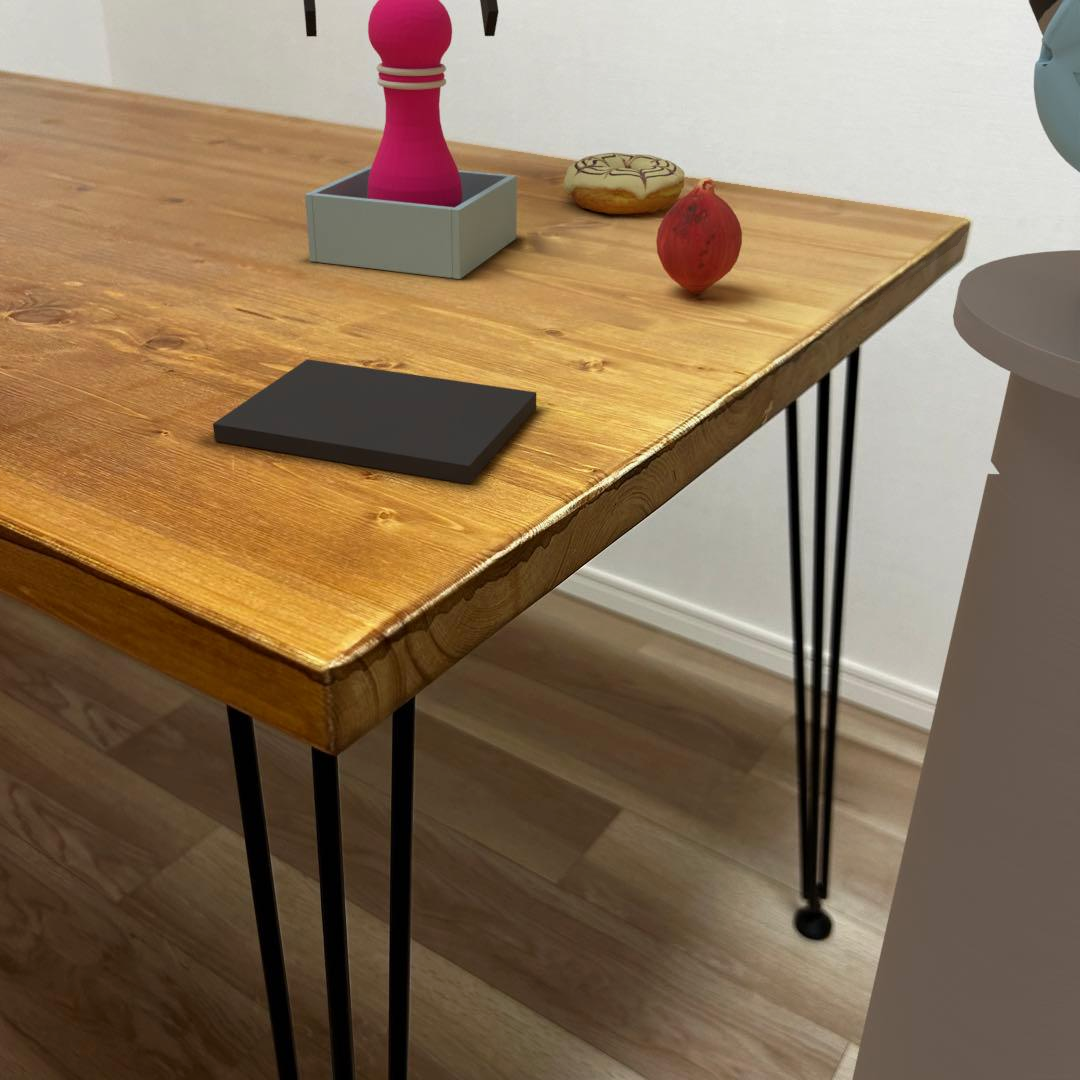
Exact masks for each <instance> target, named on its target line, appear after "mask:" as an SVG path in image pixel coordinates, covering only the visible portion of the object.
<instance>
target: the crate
mask: <svg viewBox="0 0 1080 1080" xmlns="http://www.w3.org/2000/svg"><path fill="white" fill-rule="evenodd" d="M371 167H372V164H370V165H367V166H365V167H363V168H361V169H359V170H357V171H354V172H351V173H350V174H347V175H346V176H343V177H341V178H338V179H336V180H333V181H332V182H329V183H327V184H325V185H322V186H320V187H318V188H316V189H313V190H311V191H309V192H307V193H305V194H304V201H305V214H306V227H307V228H306V229H307V238H308V242H307V243H308V254H309V261H310V262H312V263H313V262H314V263H322V264H331V265H338V266H346V267H355V268H364V269H373V270H381V271H388V272H397V273H405V274H414V275H423V276H431V277H438V278H445V279H446V278H447V279H454V280H455V279H456V280H462V279H463V278H464V277H466V276H467V275H468V274H469V273H471V272H473V271H474V270H475V269H477V268H478V267H479V266H481V265H482V264H483V263H484V262H486V261H487V260H489V259H490V258H491V257H493V256H494V255H495V254H497V253H498V252H500V251H502V249H504V248H505V247H507V246H508V245H510V244H511V243H512V242H513V241H515V240H516V239H517V213H518V212H517V211H518V210H517V209H518V207H517V206H518V204H517V203H518V175H516V174H504V173H495V172H482V171H473V170H461V169H458V172H459V175H460V179H461V184H462V202H461V204H460V205H458V206H456V207H455V208H454V207H445V206H435V205H426V204H416V203H406V202H396V201H387V200H377V199H368V196H367V195H368V179H369V175H370V170H371Z"/></svg>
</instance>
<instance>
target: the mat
mask: <svg viewBox="0 0 1080 1080" xmlns="http://www.w3.org/2000/svg"><path fill="white" fill-rule="evenodd" d="M536 410H537V392H536V391H531V390H523V389H517V388H509V387H503V386H497V385H496V386H495V385H489V384H481V383H474V382H468V381H460V380H454V379H447V378H440V377H432V376H426V375H420V374H412V373H406V372H399V371H392V370H385V369H378V368H371V367H366V366H365V367H364V366H358V365H357V366H356V365H349V364H343V363H336V362H331V361H330V362H329V361H323V360H315V359H309V358H308V359H305V360H304V361H302V362H301V363H299V364H298V365H297V366H296V367H294V368H292V369H290V370H289V371H288V372H286V373H284V375H282V376H281V377H278V378H277V379H276V380H275V381H273V382H272V383H270V384H268V385H267V386H266V387H264V388H263V389H262V390H261V389H260V391H258V392H256V394H254V395H253V396H251V397H250V398H248V399H247V400H245V401H244V402H241V404H240V405H238V406H236V407H235V408H233V409H232V410H230V411H229V412H227V413H226V414H225V415H223V416H222V417H220V418H219V419H218V420H216V421H214V422H213V423H212V429H213V436H214V437H213V438H214V441H215V442H218V443H224V444H229V445H230V444H231V445H236V446H240V447H241V446H242V447H248V448H253V449H259V450H265V451H273V452H278V453H283V454H289V455H296V456H301V457H305V458H307V457H308V458H313V459H318V460H325V461H330V462H336V463H342V464H348V465H353V466H359V467H364V468H365V467H366V468H372V469H378V470H384V471H389V472H396V473H401V474H407V475H414V476H418V477H425V478H432V479H437V480H443V481H450V482H454V483H459V484H466V485H467V484H468V485H470V484H471V483H472V482H473V481H474V480H475V478H477V477H478V475H479V474H480V473H481V472H482V471H483V470H484V468H485V467H486V466H487V465H488V464H489V463H490V462H491V461H492V460H493V458H494V457H495V456H496V455H497V453H499V452H500V450H501V449H502V448H503V447H504V446H505V445H506V443H508V442H509V440H510V439H511V438H512V437H513V436H514V435H515V433H517V431H518V430H519V429H520V428H521V427H522V425H524V423H525V422H526V421H527V420H528V419H529V418H530V416H531V415H532V414H533V413H534V412H535V411H536Z"/></svg>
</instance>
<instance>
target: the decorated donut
mask: <svg viewBox="0 0 1080 1080" xmlns="http://www.w3.org/2000/svg"><path fill="white" fill-rule="evenodd" d="M684 186H685V171H684V169H682V168H681V167H680V166H679V165H677V164H675V163H674V162H672V161H670V160H667V159H663V158H661V157H657V156H655V155H650V154H631V153H623V152H622V153H621V152H605V153H599V154H598V153H597V154H593V155H589V156H585V157H583V158H581V159H579V160H577V161H575V162H573V163H572V164H570V165H569V166H568V168H567V170H566V173H565V177H564V179H563V189H564V190H565V192H566V194H567V195H568V196H571V197H572V199H573V200H574V202H576V203H577V204H578V206H579V207H580V208H581V209H588V210H591V211H593V212H597V213H605V214H608V215H629V214H630V215H631V214H643V213H646V214H652V213H655V212H656V211H664V210H665V209H666V208H668V207H670V206H673V205H674V204H675V203H676V202H677V201H678V200H679V198H680V195H681V193H682V190H683V189H684V188H685V187H684Z"/></svg>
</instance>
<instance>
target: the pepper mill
mask: <svg viewBox="0 0 1080 1080" xmlns="http://www.w3.org/2000/svg"><path fill="white" fill-rule="evenodd" d="M367 32H368V33H367V35H368V40H369V42H370V45H371V47H372V48H373V50H374V51H375V52H376V53H377V55H378V56H379V58H380V60H381V62H380V63H378V64H377V65H376V71H377V72H378V73H377V75H378V77H377V80H376V82H377V85H379V86H380V87H382V88H383V89H382V90H383V95H384V101H385V121H384V122H385V123H384V128H383V133H382V136H381V140H380V143H379V146H378V149H377V151H376V154H375V157H374V159H373V161H372V164H371V165H372V167H371V170H370V175H369V179H368V195H367V196H368V199H377V200H387V201H396V202H406V203H416V204H426V205H435V206H445V207H454V208H455V207H456V206H458V205H460V204H461V202H462V184H461V179H460V175H459V172H458V170H459V168H458V166H457V163H456V161H455V159H454V158H453V155H452V153H451V151H450V149H449V146H448V144H447V141H446V138H445V135H444V132H443V127H442V124H441V113H440V112H441V109H440V101H441V100H440V99H441V88H443V87H444V86H445V85H446V84H447V79H446V78H445V76H446V75H445V72H446V70H447V67H446V65H445V64H443V63H441V61H442V59H443V56H444V55H445V54H446V52H447V51H448V49H449V48H450V46H451V43H452V39H453V38H452V37H453V25H452V20H451V17H450V14H449V11H448V10H447V8H446V7H445V4H443V3H442V2H441V0H377V1H376V3H375V4H374V6H372V9H371V11H370V13H369V17H368V23H367Z"/></svg>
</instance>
